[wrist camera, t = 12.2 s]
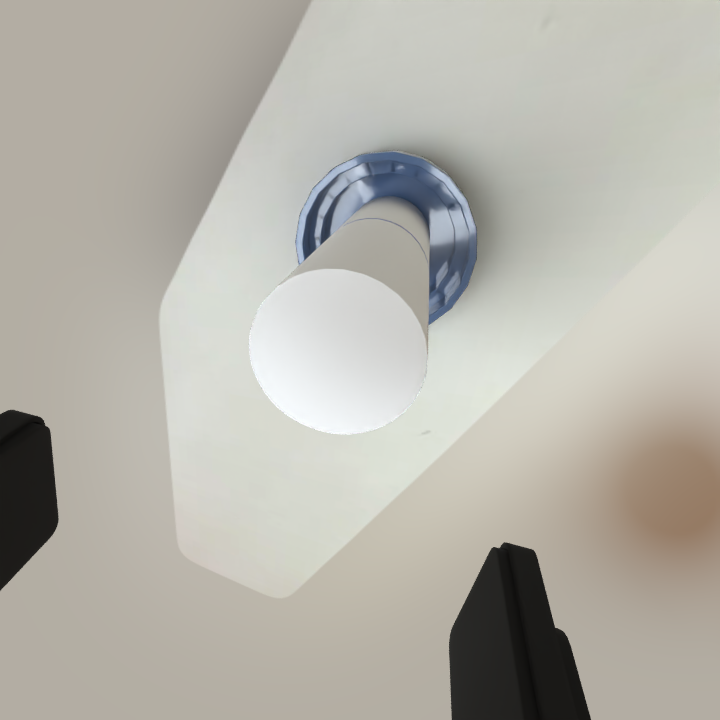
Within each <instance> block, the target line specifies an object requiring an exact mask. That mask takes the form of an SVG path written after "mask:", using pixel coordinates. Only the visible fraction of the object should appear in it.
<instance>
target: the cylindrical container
mask: <svg viewBox="0 0 720 720" xmlns="http://www.w3.org/2000/svg"><path fill="white" fill-rule="evenodd" d="M429 254H430V234H429V227H428V224H427V221H426V219H425V218H424V216H423V214H422V213H421V212H420V210H419V209H418V208H417V207H416V206H414V205H413V204H412V203H411V202H409V201H407V200H405V199H402V198H398V197H394V196H384V197H379V198H376V199H373V200H371V201H369V202H367V203H366V204H364V205H363V206H362V207H361V208H360V209H359V210H358V211H357V212H356V213H354V214H353V215H352V216H351V217H350V218H349V219H348V220H347V221H346V222H345V223H344V224H343V225H342V226H341V227H340V228H339V229H338V230H337V231H336V232H334V233H333V234H332V235H331V236H330V237H329V238H328V239H327V240H326V241H325V242H324V243H323V244H322V245H320V246H319V247H318V248H317V249H316V250H315V251H314V252H313V253H312V254H311V255H310V256H309V257H308V258H307V259H306V260H305V261H303V262H302V263H301V264H300V265H299V266H298V267H297V268H296V269H295V270H294V271H293V272H292V273H291V274H290V275H289V276H288V277H287V278H286V279H285V280H284V281H283V282H281V283H280V284H279V285H278V286H277V287H276V288H275V289H274V290H273V291H272V292H271V293H270V294H269V295H268V296H267V297H266V298H265V299H264V301H263V303H262V304H261V306H260V307H259V309H258V310H257V312H256V314H255V317H254V320H253V323H252V326H251V330H250V339H249V351H250V361H251V364H252V367H253V371H254V374H255V376H256V378H257V380H258V382H259V384H260V386H261V388H262V389H263V391H264V392H265V393H266V395H267V396H268V398H269V399H270V400H271V401H272V402H273V403H274V404H275V405H276V406H277V407H278V408H279V409H280V410H281V411H282V412H283V413H285V414H286V415H288V416H289V417H291V418H292V419H294V420H295V421H297V422H298V423H301V424H303V425H305V426H308V427H310V428H312V429H315V430H319V431H323V432H327V433H333V434H345V435H346V434H359V433H364V432H368V431H372V430H376V429H378V428H380V427H382V426H385V425H387V424H389V423H391V422H392V421H394V420H395V419H396V418H398V417H399V416H401V415H402V414H403V413H404V412H405V411H406V410H407V409H408V408H409V407H410V405H411V404H412V403H413V402H414V401H415V399H416V397H417V395H418V394H419V392H420V390H421V388H422V386H423V383H424V379H425V376H426V373H427V361H428V321H429Z"/></svg>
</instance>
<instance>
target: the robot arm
mask: <svg viewBox="0 0 720 720" xmlns="http://www.w3.org/2000/svg"><path fill="white" fill-rule="evenodd" d="M57 524H58V508H57V497H56V487H55V476H54V465H53V455H52V445H51V434H50V429H49V428H48V427H46V426H45V423H44V420H43V419H42V418H41V417H38V416H34V415H30V414H27V413H23V412H19V411H15V410H8V411H6V412H4V413H2V414H0V590H1V589H2V588H3V587H4V586H5V585H6V584H7V583H8V582H9V581H10V580H11V579H12V578H13V577H14V575H15V574H16V573H17V572H18V571H19V570H20V569H21V568H22V567H23V566H24V565H25V564H26V563H27V562H28V561H29V560H30V558H31V557H32V556H33V555H34V554H35V553H36V552H37V551H38V550H39V549H40V548H41V547H42V546H43V545H44V543H46V542H47V541H48V539H49V538H50V537H51V536H52V535H53V533H54V532H55V530H56V527H57ZM449 656H450V679H451V680H450V683H451V709H452V720H591V718H590V714H589V711H588V707H587V704H586V700H585V696H584V693H583V689H582V686H581V682H580V678H579V674H578V671H577V667H576V664H575V660H574V656H573V653H572V649H571V646H570V643H569V640H568V638H567V636H566V635H565V633H564V632H563V631H562V630H560V629H558V628H555V626H554V622H553V618H552V614H551V610H550V606H549V602H548V599H547V595H546V591H545V587H544V583H543V579H542V575H541V571H540V567H539V563H538V559H537V556H536V553H535V552H534V550H532V549H528V548H524V547H521V546H517V545H513V544H510V543H503V544H502V545H501V547H500V548H496V547H493V548H492V549H491V551H490V552H489V554H488V556H487V559H486V560H485V562H484V564H483V566H482V569H481V570H480V572H479V574H478V577H477V579H476V581H475V583H474V585H473V587H472V589H471V591H470V593H469V595H468V597H467V599H466V601H465V603H464V605H463V607H462V609H461V611H460V613H459V615H458V617H457V619H456V621H455V623H454V625H453V627H452V630H451V634H450V642H449Z"/></svg>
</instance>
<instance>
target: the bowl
mask: <svg viewBox="0 0 720 720" xmlns="http://www.w3.org/2000/svg"><path fill="white" fill-rule="evenodd" d="M384 196H394V197H398V198H402V199H405V200H407V201H409V202H411V203H412V204H413V205H414V206H416V207H417V208H418V209H419V210H420V212H421V213H422V214H423V216H424V218H425V219H426V221H427V224H428V227H429V234H430V254H429V321H428V325H430V324H431V323H432V322H434V321H435V320H436V319H438V318H439V317H440V316H442V315H443V314H445V313H446V312H447V311H449V310H450V308H452V307H453V305H454V304H455V303H456V301H457V300H458V299H459V297H460V296H461V294H462V293H463V292H464V290H465V289H466V288H467V286H468V283H469V280H470V277H471V274H472V271H473V268H474V265H475V262H476V259H477V228H476V225H475V222H474V219H473V216H472V213H471V210H470V207H469V204H468V201H467V199H466V198H465V196H464V194H463V193H462V191H461V190H460V189H459V188H458V186H457V185H456V184H455V182H454V181H453V180H452V178H451V177H450V176H449V174H448V173H447V172H446V171H444V170H443V169H441V168H440V167H438V166H437V165H435V164H434V163H432V162H431V161H429V160H428V159H426V158H425V157H423V156H419V155H415V154H410V153H406V152H402V151H398V150H392V151H382V152H372V153H366V154H361V155H359V156H357V157H355V158H353V159H351V160H349V161H346V162H344V163H342V164H340V165H338V166H336V167H335V168H333V169H332V170H331V171H330V172H329V173H328V174H327V175H326V176H325V177H324V178H323V179H322V180H321V181H320V182H319V183H318V184H317V185H316V186H315V187H314V188H313V189H312V191H311V193H310V195H309V197H308V199H307V201H306V203H305V205H304V207H303V209H302V211H301V213H300V216H299V222H298V229H297V235H296V250H297V256H298V263H299V265H300V264H301V263H302V262H303V261H305V260H306V259H307V258H308V257H309V256H310V255H311V254H312V253H313V252H314V251H315V250H316V249H317V248H318V247H319V246H320V245H322V244H323V243H324V242H325V241H326V240H327V239H328V238H329V237H330V236H331V235H332V234H333V233H334V232H336V231H337V230H338V229H339V228H340V227H341V226H342V225H343V224H344V223H345V222H346V221H347V220H348V219H349V218H350V217H351V216H352V215H353V214H354V213H356V212H357V211H358V210H359V209H360V208H361V207H362V206H363V205H364V204H366V203H367V202H369V201H371V200H373V199H376V198H379V197H384Z"/></svg>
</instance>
